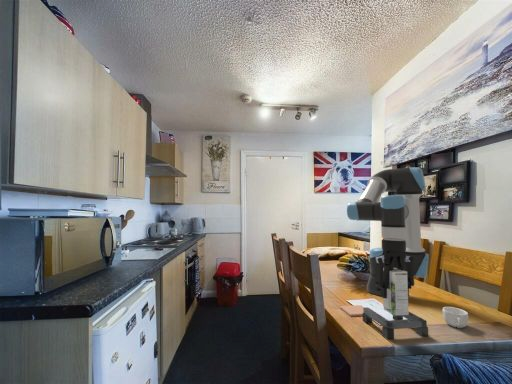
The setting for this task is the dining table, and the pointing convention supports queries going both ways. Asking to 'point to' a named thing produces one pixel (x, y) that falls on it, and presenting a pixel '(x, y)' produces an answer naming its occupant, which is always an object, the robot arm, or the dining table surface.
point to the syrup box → (398, 292)
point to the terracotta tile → (353, 310)
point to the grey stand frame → (396, 323)
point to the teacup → (455, 317)
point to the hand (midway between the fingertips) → (395, 307)
